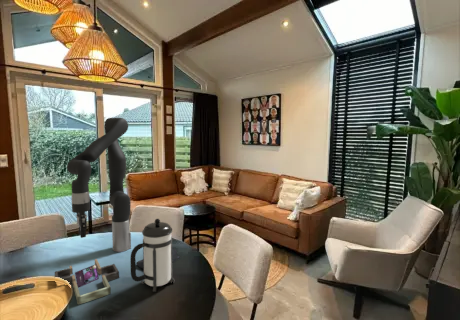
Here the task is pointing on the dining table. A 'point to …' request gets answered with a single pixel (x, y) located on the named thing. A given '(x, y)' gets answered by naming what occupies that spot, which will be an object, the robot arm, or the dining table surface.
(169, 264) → the coffee press
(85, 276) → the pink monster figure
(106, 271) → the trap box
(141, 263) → the dark slate chunk
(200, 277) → the dining table surface
